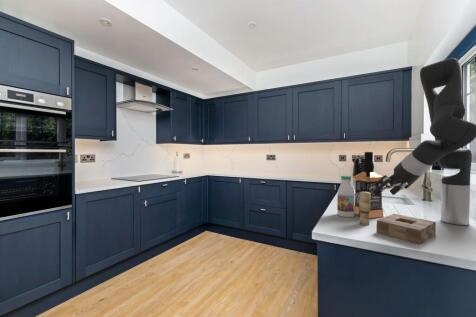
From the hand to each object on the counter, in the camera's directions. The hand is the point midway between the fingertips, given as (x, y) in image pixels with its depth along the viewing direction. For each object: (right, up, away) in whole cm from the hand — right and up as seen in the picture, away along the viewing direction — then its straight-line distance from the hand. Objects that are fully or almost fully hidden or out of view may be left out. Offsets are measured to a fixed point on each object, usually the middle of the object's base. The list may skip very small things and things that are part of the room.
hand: (383, 193), depth 89 cm
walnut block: (+7, -15, -3) cm, 17 cm away
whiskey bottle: (+7, -15, +23) cm, 29 cm away
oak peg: (-2, -15, +9) cm, 18 cm away
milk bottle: (-4, -15, +23) cm, 27 cm away
